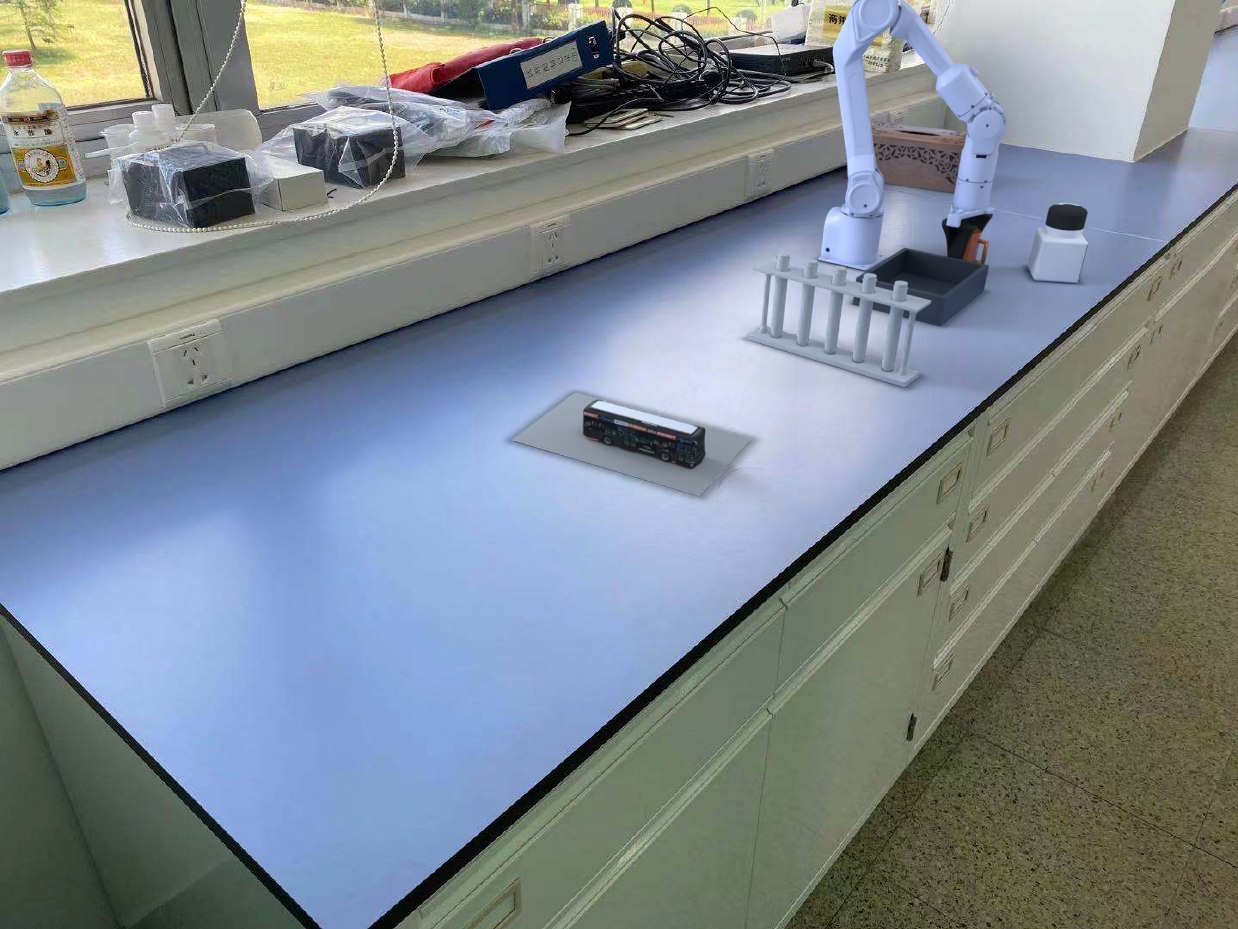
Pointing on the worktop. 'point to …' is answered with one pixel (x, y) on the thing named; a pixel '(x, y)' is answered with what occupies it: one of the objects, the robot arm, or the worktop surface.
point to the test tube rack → (838, 319)
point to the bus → (635, 442)
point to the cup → (975, 248)
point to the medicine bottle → (1060, 245)
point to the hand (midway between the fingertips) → (960, 257)
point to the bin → (930, 282)
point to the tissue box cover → (918, 155)
